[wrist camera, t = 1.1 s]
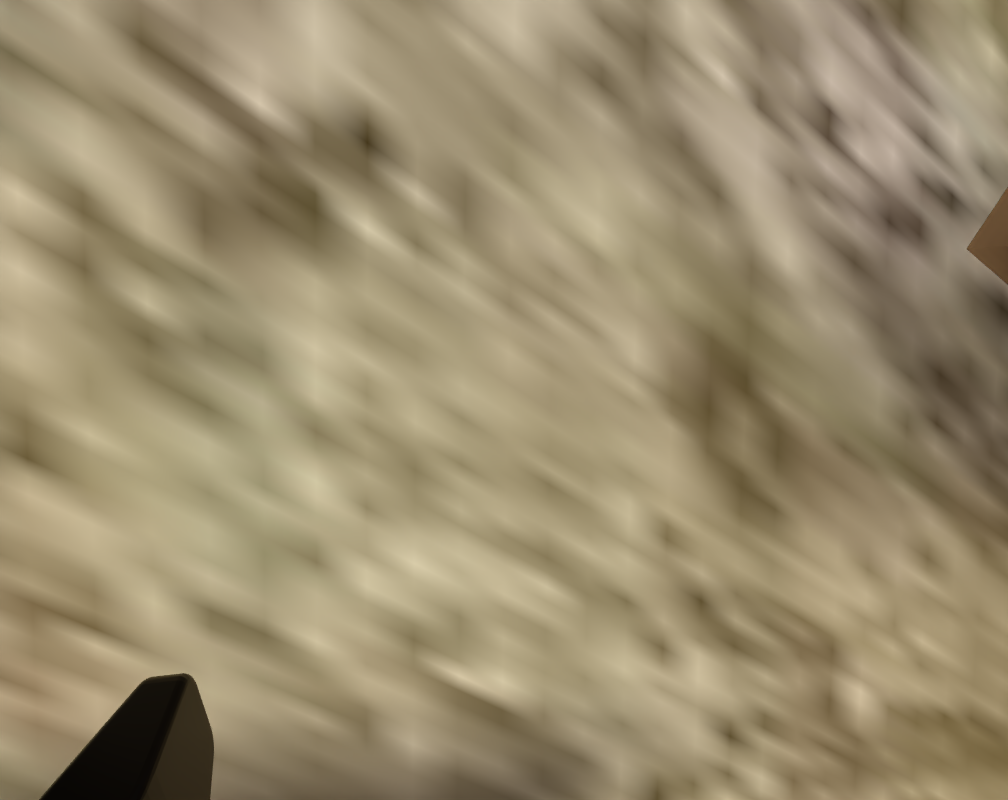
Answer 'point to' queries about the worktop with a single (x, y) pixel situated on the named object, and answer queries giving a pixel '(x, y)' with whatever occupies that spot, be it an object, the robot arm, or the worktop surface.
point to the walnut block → (994, 240)
